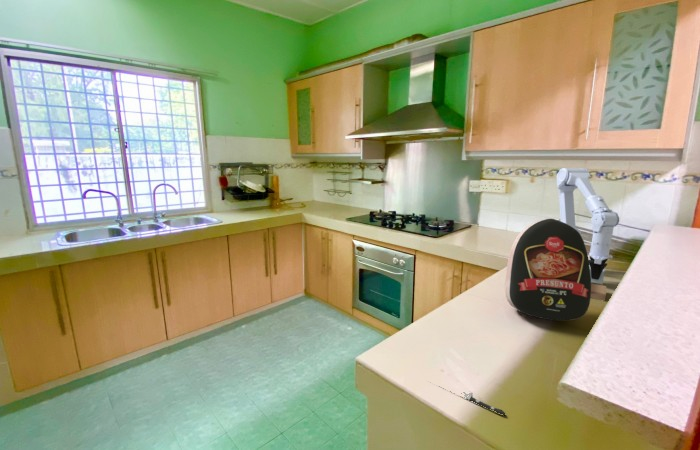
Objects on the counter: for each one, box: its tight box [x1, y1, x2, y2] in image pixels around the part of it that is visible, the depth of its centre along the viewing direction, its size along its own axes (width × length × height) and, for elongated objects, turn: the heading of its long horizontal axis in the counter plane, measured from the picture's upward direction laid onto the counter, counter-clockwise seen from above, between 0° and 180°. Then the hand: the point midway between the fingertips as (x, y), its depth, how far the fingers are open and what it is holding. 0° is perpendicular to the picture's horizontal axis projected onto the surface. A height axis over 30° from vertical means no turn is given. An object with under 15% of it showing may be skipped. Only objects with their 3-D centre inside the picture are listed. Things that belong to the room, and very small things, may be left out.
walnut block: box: [590, 282, 607, 302], centre depth 115 cm, size 9×9×3 cm
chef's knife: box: [461, 392, 506, 415], centre depth 67 cm, size 19×1×3 cm
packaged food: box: [504, 218, 592, 322], centre depth 97 cm, size 22×20×30 cm
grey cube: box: [589, 265, 606, 285], centre depth 123 cm, size 5×5×5 cm
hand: (595, 276), depth 123 cm, fingers closed on grey cube, 5 cm apart
